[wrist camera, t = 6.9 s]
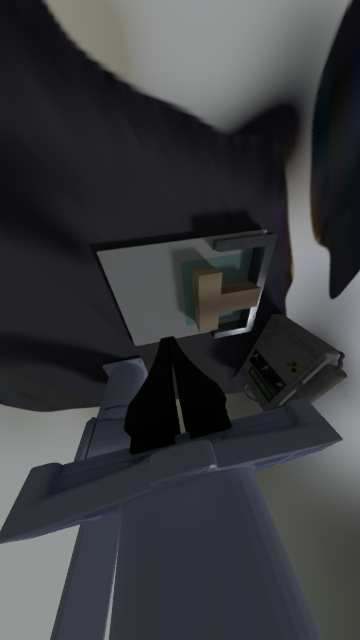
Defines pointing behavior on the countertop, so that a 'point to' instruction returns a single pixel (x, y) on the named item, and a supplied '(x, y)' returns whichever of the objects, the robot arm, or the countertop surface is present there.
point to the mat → (168, 283)
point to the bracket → (257, 275)
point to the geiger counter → (289, 365)
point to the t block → (219, 296)
